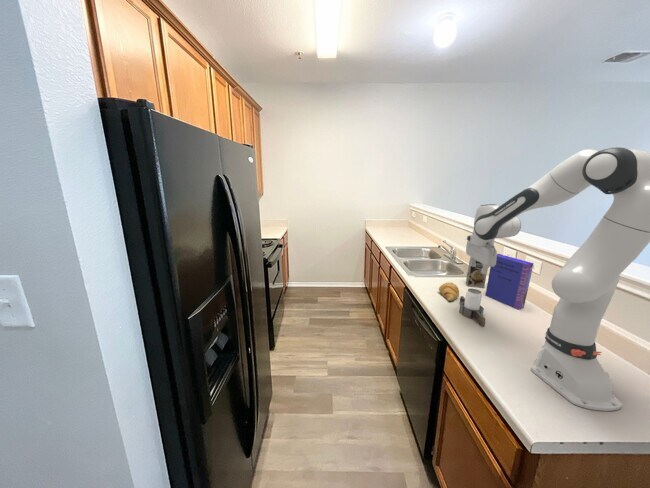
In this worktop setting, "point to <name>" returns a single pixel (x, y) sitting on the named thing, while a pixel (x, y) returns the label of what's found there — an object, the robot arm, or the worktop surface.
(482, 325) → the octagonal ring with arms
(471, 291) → the can
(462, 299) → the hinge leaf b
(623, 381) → the worktop surface
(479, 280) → the coffee box
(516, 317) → the worktop surface
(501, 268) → the cereal box
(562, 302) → the robot arm
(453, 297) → the croissant
